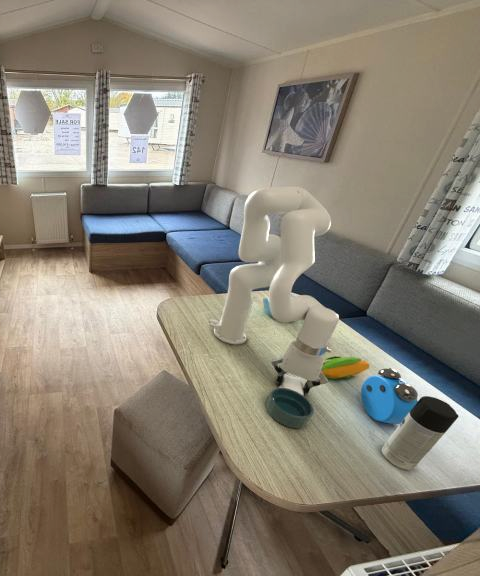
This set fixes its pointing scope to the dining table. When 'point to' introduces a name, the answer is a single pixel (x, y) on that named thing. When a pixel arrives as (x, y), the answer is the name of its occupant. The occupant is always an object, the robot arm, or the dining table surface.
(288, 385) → the soap
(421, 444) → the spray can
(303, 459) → the dining table surface
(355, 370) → the corn
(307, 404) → the bowl
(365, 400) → the alarm clock
